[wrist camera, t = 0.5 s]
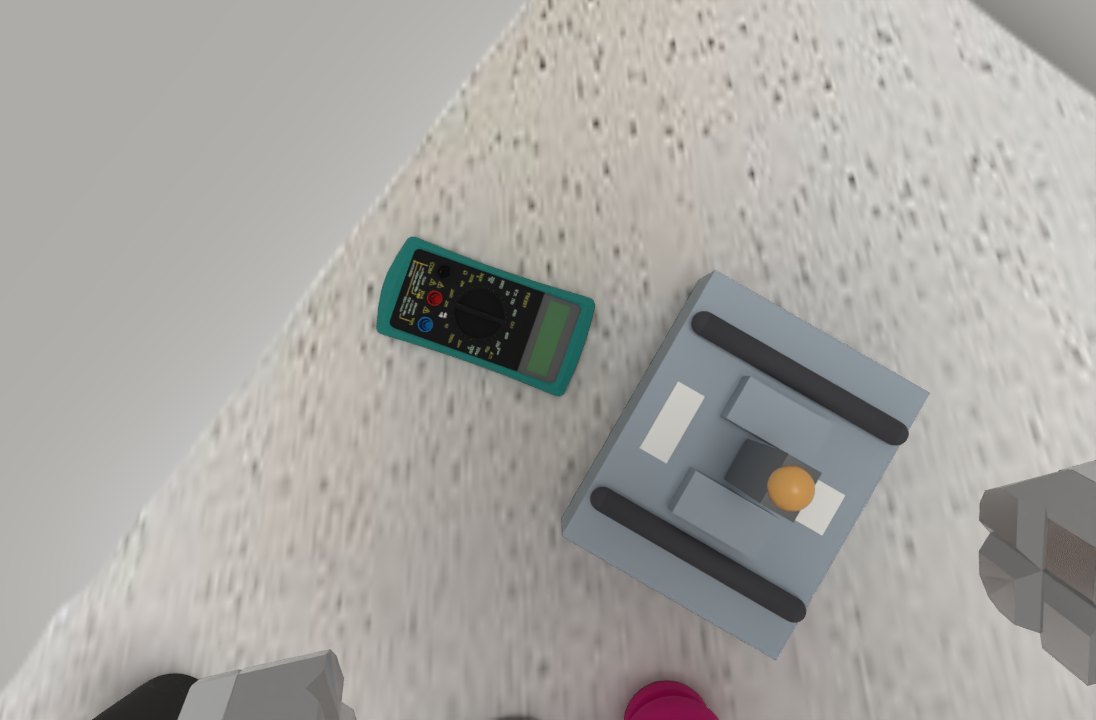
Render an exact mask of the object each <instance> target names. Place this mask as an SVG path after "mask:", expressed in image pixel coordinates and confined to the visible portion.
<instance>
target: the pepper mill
mask: <svg viewBox="0 0 1096 720" xmlns="http://www.w3.org/2000/svg"><path fill="white" fill-rule="evenodd" d="M624 720H719V719H718V718H717V717H716V716H715V714H714V713H713V712H712V711H711V710H710V709H708V708H707V707H706V705H705V703H704V701H703V700H702V698H701V697H700V696H699V695H698V694H697V693H696V692H695V691H693V690H692V689H691V688H689V687H688V686H686V685H684V684H681V683H678V682H673V681H661V682H656V683H653V684H650V685H648V686H646V687H644V688H643V689H641V690H640V691H639V692H638V693H637V694H636V695H635V696H634V697H633V698H632V700H631V701H630V703H629V705H628V707H627V709H626V712H625V717H624Z"/></svg>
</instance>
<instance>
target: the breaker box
mask: <svg viewBox="0 0 1096 720" xmlns="http://www.w3.org/2000/svg"><path fill="white" fill-rule="evenodd" d="M701 311H708V312H710V313H712V314H714V315H716V316H717V317H719V318H721V319H723V320H724V321H726V322H728V323H729V324H731V325H733V326H735V327H736V328H738V329H740V330H742V331H743V332H745V333H747V334H749V335H750V336H752V337H754V338H756V339H757V340H759V341H761V342H763V343H764V344H766V345H768V346H770V347H771V348H773V349H775V350H777V351H778V352H780V353H782V354H784V355H785V356H787V357H789V358H790V359H792V360H794V361H796V362H797V363H799V364H801V365H803V366H804V367H806V368H808V369H810V370H811V371H813V372H815V373H817V374H818V375H820V376H822V377H824V378H825V379H827V380H829V381H831V382H832V383H834V384H836V385H838V386H839V387H841V388H843V389H845V390H846V391H848V392H850V393H851V394H853V395H855V396H857V397H858V398H860V399H862V400H864V401H865V402H867V403H869V404H871V405H872V406H874V407H876V408H878V409H879V410H881V411H883V412H885V413H886V414H888V415H890V416H892V417H893V418H895V419H897V420H899V421H900V422H902V423H903V424H905V426H906V427H907V428H908V430H909V428H910V427H911V425H912V423H913V422H914V420H915V418H916V416H917V415H918V413H919V411H920V409H921V408H922V406H923V404H924V402H925V401H926V399H927V397H928V395H929V394H930V393H929V392H928V391H926V390H924V389H922V388H921V387H919V386H917V385H915V384H914V383H912V382H910V381H908V380H907V379H905V378H903V377H901V376H900V375H898V374H896V373H894V372H893V371H891V370H889V369H887V368H886V367H884V366H882V365H880V364H879V363H877V362H875V361H873V360H872V359H870V358H868V357H866V356H865V355H863V354H861V353H859V352H858V351H856V350H854V349H852V348H851V347H849V346H847V345H845V344H844V343H842V342H840V341H838V340H837V339H835V338H833V337H831V336H830V335H828V334H826V333H824V332H823V331H821V330H819V329H818V328H816V327H814V326H812V325H811V324H809V323H807V322H805V321H804V320H802V319H800V318H798V317H797V316H795V315H793V314H791V313H790V312H788V311H786V310H784V309H783V308H781V307H779V306H777V305H776V304H774V303H772V302H770V301H769V300H767V299H765V298H763V297H762V296H760V295H758V294H756V293H755V292H753V291H751V290H749V289H748V288H746V287H744V286H742V285H741V284H739V283H737V282H735V281H734V280H732V279H730V278H728V277H727V276H725V275H723V274H721V273H720V272H718V271H716V270H714V271H713V272H711V273H710V274H708V275H706V276H705V277H703V278H702V279H700V280H699V281H698V282H697V284H696V286H695V288H694V289H693V291H692V293H691V295H690V296H689V298H688V300H687V302H686V303H685V305H684V307H683V308H682V310H681V312H680V314H679V315H678V317H677V319H676V321H675V322H674V324H673V326H672V328H671V329H670V331H669V333H668V334H667V336H666V338H665V340H664V341H663V343H662V345H661V347H660V348H659V350H658V352H657V354H656V355H655V357H654V359H653V360H652V362H651V364H650V366H649V367H648V369H647V371H646V373H645V374H644V376H643V378H642V380H641V381H640V383H639V385H638V386H637V388H636V390H635V392H634V393H633V395H632V397H631V399H630V400H629V402H628V404H627V406H626V407H625V409H624V411H623V412H622V414H621V416H620V418H619V419H618V421H617V423H616V425H615V426H614V428H613V430H612V432H611V433H610V435H609V437H608V438H607V440H606V442H605V444H604V445H603V447H602V449H601V451H600V452H599V454H598V456H597V458H596V459H595V461H594V463H593V464H592V466H591V468H590V470H589V471H588V473H587V475H586V477H585V478H584V480H583V482H582V484H581V485H580V487H579V489H578V490H577V492H576V494H575V496H574V497H573V499H572V501H571V503H570V504H569V506H568V508H567V510H566V511H565V513H564V515H563V516H562V518H561V523H562V536H563V537H564V538H566V539H568V540H569V541H571V542H573V543H575V544H576V545H578V546H580V547H581V548H583V549H585V550H587V551H588V552H590V553H592V554H593V555H595V556H597V557H599V558H600V559H602V560H604V561H606V562H607V563H609V564H611V565H612V566H614V567H616V568H618V569H619V570H621V571H623V572H624V573H626V574H628V575H630V576H631V577H633V578H635V579H637V580H638V581H640V582H642V583H643V584H645V585H647V586H649V587H650V588H652V589H654V590H655V591H657V592H659V593H661V594H662V595H664V596H666V597H667V598H669V599H671V600H673V601H674V602H676V603H678V604H680V605H681V606H683V607H685V608H686V609H688V610H690V611H692V612H693V613H695V614H697V615H698V616H700V617H702V618H704V619H705V620H707V621H709V622H710V623H712V624H714V625H716V626H717V627H719V628H721V629H723V630H724V631H726V632H728V633H729V634H731V635H733V636H735V637H736V638H738V639H740V640H741V641H743V642H745V643H747V644H748V645H750V646H752V647H754V648H755V649H757V650H759V651H760V652H762V653H764V654H766V655H767V656H769V657H771V658H772V659H774V660H776V659H777V658H778V656H779V654H780V652H781V651H782V649H783V647H784V645H785V644H786V642H787V640H788V638H789V637H790V635H791V633H792V632H793V630H794V628H795V626H796V625H797V623H798V622H797V623H792V622H789V621H787V620H785V619H783V618H781V617H780V616H778V615H776V614H775V613H773V612H771V611H769V610H768V609H766V608H764V607H762V606H761V605H759V604H757V603H756V602H754V601H752V600H750V599H749V598H747V597H745V596H743V595H742V594H740V593H738V592H737V591H735V590H733V589H731V588H730V587H728V586H726V585H725V584H723V583H721V582H719V581H718V580H716V579H714V578H712V577H711V576H709V575H707V574H706V573H704V572H702V571H700V570H699V569H697V568H695V567H693V566H692V565H690V564H688V563H687V562H685V561H683V560H681V559H680V558H678V557H676V556H675V555H673V554H671V553H669V552H668V551H666V550H664V549H662V548H661V547H659V546H657V545H656V544H654V543H652V542H650V541H649V540H647V539H645V538H643V537H642V536H640V535H638V534H637V533H635V532H633V531H631V530H630V529H628V528H626V527H625V526H623V525H621V524H619V523H618V522H616V521H614V520H612V519H611V518H609V517H607V516H606V515H604V514H602V513H600V512H599V511H597V510H596V509H594V508H593V506H592V505H591V502H590V496H591V494H592V492H593V491H594V490H595V489H596V488H598V487H607V488H609V489H611V490H613V491H614V492H616V493H618V494H619V495H621V496H623V497H625V498H626V499H628V500H630V501H632V502H633V503H635V504H637V505H638V506H640V507H642V508H644V509H645V510H647V511H649V512H651V513H652V514H654V515H656V516H657V517H659V518H661V519H663V520H664V521H666V522H668V523H670V524H671V525H673V526H675V527H676V528H678V529H680V530H682V531H683V532H685V533H687V534H689V535H690V536H692V537H694V538H695V539H697V540H699V541H701V542H702V543H704V544H706V545H708V546H709V547H711V548H713V549H714V550H716V551H718V552H720V553H721V554H723V555H725V556H727V557H728V558H730V559H732V560H733V561H735V562H737V563H739V564H740V565H742V566H744V567H746V568H747V569H749V570H751V571H752V572H754V573H756V574H758V575H759V576H761V577H763V578H764V579H766V580H768V581H770V582H771V583H773V584H775V585H777V586H778V587H780V588H782V589H783V590H785V591H787V592H789V593H790V594H792V595H794V596H796V597H797V598H799V599H800V600H802V601H803V603H804V604H805V607H807V606H808V604H809V602H810V600H811V599H812V597H813V595H814V593H815V592H816V590H817V588H818V586H819V585H820V583H821V581H822V579H823V578H824V576H825V574H826V573H827V571H828V569H829V567H830V566H831V564H832V562H833V560H834V559H835V557H836V555H837V553H838V552H839V550H840V548H841V546H842V545H843V543H844V541H845V540H846V538H847V536H848V534H849V533H850V531H851V529H852V527H853V526H854V524H855V522H856V520H857V519H858V517H859V515H860V514H861V512H862V510H863V508H864V507H865V505H866V503H867V501H868V500H869V498H870V496H871V494H872V493H873V491H874V489H875V487H876V486H877V484H878V482H879V481H880V479H881V477H882V475H883V474H884V472H885V470H886V468H887V467H888V465H889V463H890V461H891V460H892V458H893V456H894V454H895V453H896V451H897V449H898V448H899V446H900V445H897V446H895V445H890V444H888V443H886V442H884V441H883V440H881V439H879V438H877V437H876V436H874V435H872V434H870V433H869V432H867V431H865V430H863V429H862V428H860V427H858V426H856V425H855V424H853V423H851V422H849V421H848V420H846V419H844V418H842V417H841V416H839V415H837V414H836V413H834V412H832V411H830V410H829V409H827V408H825V407H823V406H822V405H820V404H818V403H816V402H815V401H813V400H811V399H809V398H808V397H806V396H804V395H802V394H801V393H799V392H797V391H795V390H794V389H792V388H790V387H789V386H787V385H785V384H783V383H782V382H780V381H778V380H776V379H775V378H773V377H771V376H769V375H768V374H766V373H764V372H762V371H761V370H759V369H757V368H755V367H754V366H752V365H750V364H748V363H747V362H745V361H743V360H742V359H740V358H738V357H736V356H735V355H733V354H731V353H729V352H728V351H726V350H724V349H722V348H721V347H719V346H717V345H715V344H714V343H712V342H710V341H708V340H707V339H705V338H703V337H701V336H700V335H698V334H697V333H695V332H694V330H693V329H692V325H691V322H692V318H693V317H694V315H695V314H697V313H698V312H701ZM747 438H748V439H751V440H753V441H756V442H759V443H761V444H764V445H767V446H769V447H772V448H775V449H777V450H780V451H783V452H785V453H788V454H790V455H792V456H793V457H795V458H797V459H799V460H800V461H802V462H804V463H806V464H807V465H809V466H811V467H813V468H814V469H816V470H818V471H819V472H821V473H822V474H821V476H820V478H819V479H818V481H817V483H816V484H815V495H814V498H813V500H812V502H811V503H810V504H809V505H808V506H807V507H806V508H804V509H802V510H800V512H799V514H798V516H797V517H796V519H795V521H794V523H793V522H791V521H789V520H788V519H786V518H784V517H782V516H781V515H779V514H777V513H776V512H774V511H772V510H770V509H769V508H767V507H765V506H763V505H762V504H760V503H758V502H757V501H756V500H754V499H753V498H751V497H750V496H748V495H747V494H745V493H744V492H742V491H741V490H739V489H738V488H736V487H735V486H733V485H732V484H730V483H729V482H727V481H726V480H724V478H725V476H726V474H727V473H728V471H729V469H730V467H731V466H732V464H733V462H734V461H735V459H736V457H737V455H738V454H739V452H740V450H741V448H742V447H743V445H744V443H745V441H746V440H747Z"/></svg>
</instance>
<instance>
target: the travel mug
mask: <svg viewBox="0 0 1096 720" xmlns="http://www.w3.org/2000/svg"><path fill="white" fill-rule="evenodd" d="M197 681H198V680H197V679H195V678H193V677H190V676H187V675H182V674H167V675H162V676H159V677H156V678H154V679H152V680H150V681H148V682H146V683H145V684H143V685H142V686H140V687H139V688H137V689H136V690H134V691H133V692H131V693H130V694H128V695H127V696H125V697H124V698H123V699H121V700H120V701H118V702H117V703H115V704H114V705H112V706H111V707H110V708H108V709H107V710H105V711H104V712H102V713H101V714H99V715H98V716H97V717H95V718H94V719H92V720H178V717H179V715H180V712H181V710H182V707H183V704H184V702H185V699H186V697H187V694H188V692H189V689H190V687H191V686H192V685H193V684H194V683H195V682H197Z"/></svg>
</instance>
